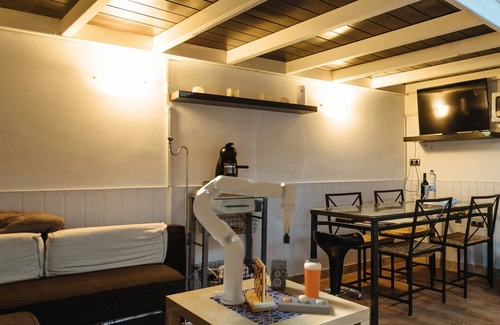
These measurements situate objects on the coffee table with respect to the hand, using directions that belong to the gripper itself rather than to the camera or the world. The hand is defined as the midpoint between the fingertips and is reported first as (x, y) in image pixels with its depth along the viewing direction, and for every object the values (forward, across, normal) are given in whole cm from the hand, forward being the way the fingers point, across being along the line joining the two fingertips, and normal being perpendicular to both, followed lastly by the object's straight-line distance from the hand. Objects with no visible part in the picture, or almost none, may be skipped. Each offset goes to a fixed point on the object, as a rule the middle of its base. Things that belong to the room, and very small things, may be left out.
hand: (286, 243), depth 208 cm
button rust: (+28, +9, +1) cm, 30 cm away
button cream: (+27, +9, +9) cm, 30 cm away
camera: (+29, -19, -4) cm, 35 cm away
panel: (+29, +9, +9) cm, 32 cm away
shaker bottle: (+29, -7, +14) cm, 33 cm away
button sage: (+29, +9, +17) cm, 34 cm away
